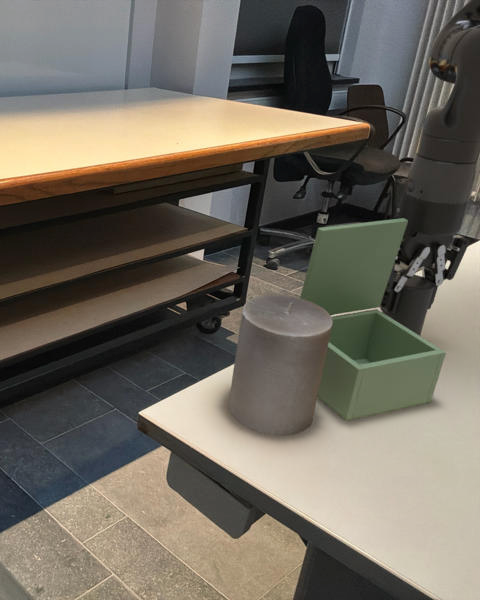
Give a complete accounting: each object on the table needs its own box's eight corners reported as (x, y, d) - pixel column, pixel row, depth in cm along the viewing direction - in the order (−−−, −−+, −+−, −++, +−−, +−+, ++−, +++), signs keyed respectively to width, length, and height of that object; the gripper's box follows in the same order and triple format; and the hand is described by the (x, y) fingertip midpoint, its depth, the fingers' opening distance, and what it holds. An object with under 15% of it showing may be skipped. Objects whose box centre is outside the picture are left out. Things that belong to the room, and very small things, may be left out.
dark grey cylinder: (398, 324, 98) (413, 271, 94) (427, 342, 94) (443, 286, 90) (368, 329, 96) (382, 275, 93) (396, 348, 92) (411, 291, 88)
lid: (408, 220, 82) (384, 207, 85) (322, 230, 78) (300, 215, 81) (379, 307, 88) (358, 291, 92) (298, 320, 84) (279, 303, 88)
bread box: (429, 407, 82) (446, 352, 79) (344, 426, 79) (358, 369, 75) (364, 359, 92) (376, 308, 89) (286, 374, 88) (295, 322, 85)
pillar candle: (283, 387, 85) (303, 280, 79) (328, 434, 77) (355, 318, 70) (212, 398, 83) (227, 288, 76) (251, 447, 75) (272, 329, 68)
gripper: (414, 205, 80) (382, 330, 88) (504, 196, 85) (466, 315, 92) (370, 187, 87) (344, 305, 94) (456, 179, 91) (424, 292, 99)
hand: (405, 309), depth 93 cm, fingers closed on dark grey cylinder, 5 cm apart
